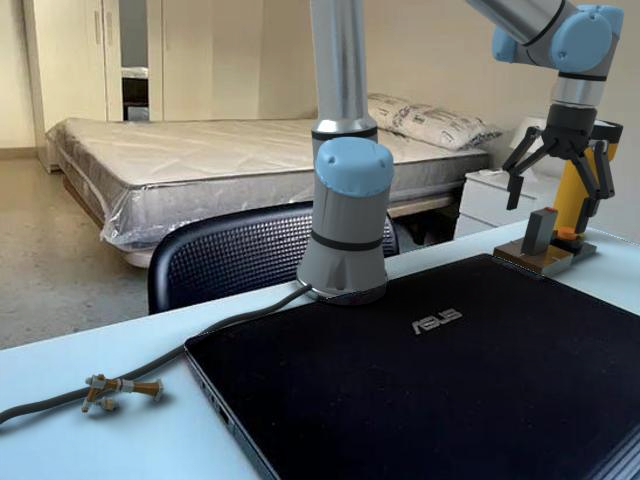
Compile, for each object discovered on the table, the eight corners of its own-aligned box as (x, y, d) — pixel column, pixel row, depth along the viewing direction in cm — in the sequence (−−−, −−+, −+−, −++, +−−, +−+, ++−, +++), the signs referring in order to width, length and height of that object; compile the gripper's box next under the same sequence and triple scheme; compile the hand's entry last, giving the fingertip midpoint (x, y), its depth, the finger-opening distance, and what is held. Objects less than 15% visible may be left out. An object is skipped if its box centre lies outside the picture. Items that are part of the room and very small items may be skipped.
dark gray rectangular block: (531, 256, 94) (543, 215, 91) (520, 251, 95) (531, 210, 92) (547, 249, 97) (559, 209, 94) (536, 245, 99) (547, 206, 96)
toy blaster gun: (71, 404, 52) (87, 368, 51) (146, 409, 57) (161, 376, 56) (73, 416, 51) (89, 378, 50) (149, 420, 55) (165, 386, 55)
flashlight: (566, 114, 111) (613, 119, 109) (536, 223, 121) (579, 228, 120) (580, 121, 101) (632, 127, 100) (547, 238, 112) (594, 244, 110)
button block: (570, 265, 99) (575, 249, 98) (529, 248, 105) (533, 233, 104) (595, 253, 106) (600, 238, 104) (554, 238, 112) (558, 224, 111)
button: (570, 242, 102) (573, 234, 101) (553, 236, 104) (556, 228, 104) (578, 239, 104) (581, 231, 103) (562, 233, 107) (564, 225, 106)
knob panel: (538, 282, 90) (543, 267, 89) (490, 261, 98) (493, 246, 96) (570, 267, 98) (574, 253, 96) (522, 248, 105) (526, 235, 104)
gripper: (662, 116, 79) (621, 239, 88) (520, 93, 97) (497, 197, 105) (644, 119, 75) (602, 248, 83) (498, 94, 92) (476, 203, 100)
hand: (543, 220), depth 94 cm, fingers open, 13 cm apart
